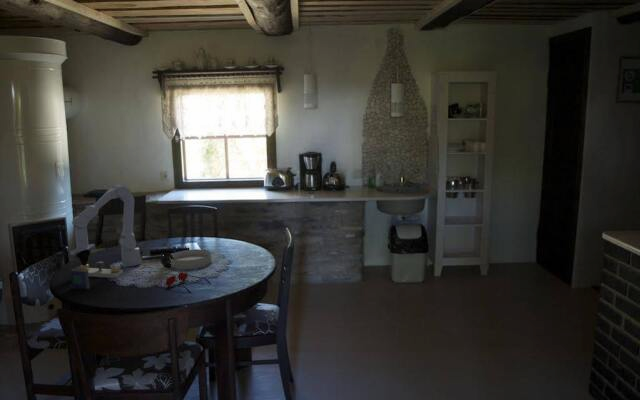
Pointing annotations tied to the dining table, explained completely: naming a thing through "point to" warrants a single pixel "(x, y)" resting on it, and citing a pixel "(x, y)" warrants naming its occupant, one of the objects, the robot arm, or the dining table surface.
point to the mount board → (103, 273)
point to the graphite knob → (99, 264)
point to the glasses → (182, 277)
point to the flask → (80, 278)
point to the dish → (190, 259)
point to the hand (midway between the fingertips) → (84, 264)
